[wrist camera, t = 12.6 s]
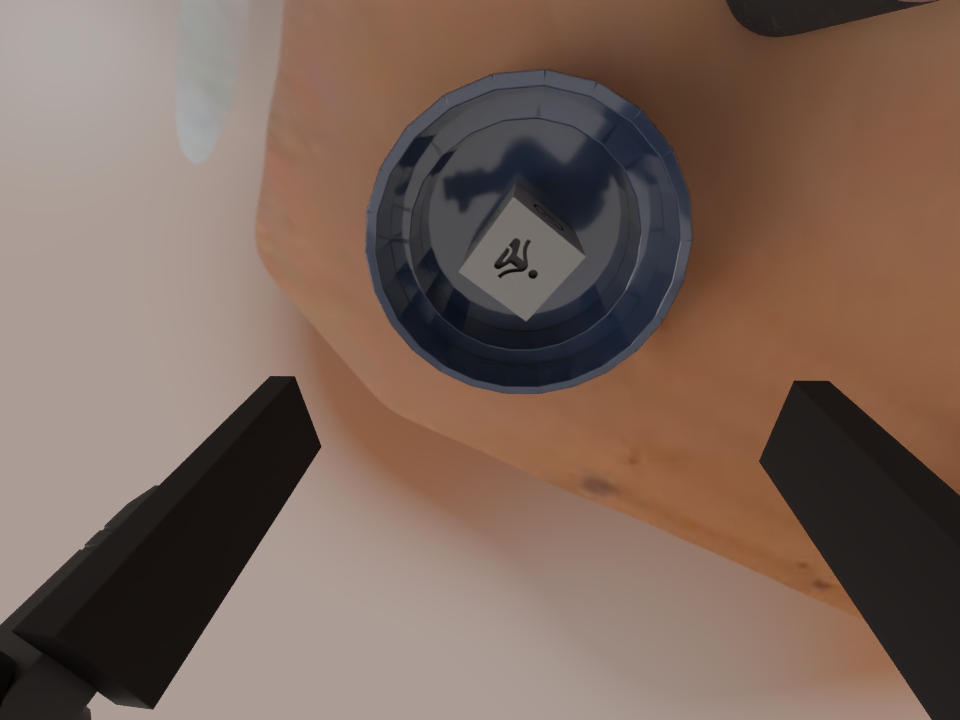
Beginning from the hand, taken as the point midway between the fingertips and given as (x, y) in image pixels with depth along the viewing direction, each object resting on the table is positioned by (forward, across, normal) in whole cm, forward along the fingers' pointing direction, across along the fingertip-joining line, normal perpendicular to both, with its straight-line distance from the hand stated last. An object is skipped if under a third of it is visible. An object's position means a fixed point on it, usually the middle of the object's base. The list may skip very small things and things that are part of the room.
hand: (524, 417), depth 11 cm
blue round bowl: (+18, 0, 0) cm, 18 cm away
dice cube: (+18, 0, 0) cm, 18 cm away
